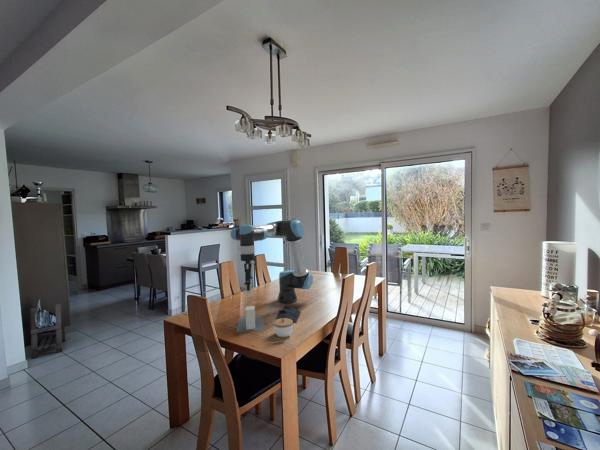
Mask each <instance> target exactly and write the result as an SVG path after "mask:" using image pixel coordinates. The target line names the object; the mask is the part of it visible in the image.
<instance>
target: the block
mask: <svg viewBox="0 0 600 450" xmlns="http://www.w3.org/2000/svg"><path fill="white" fill-rule="evenodd" d="M255 307H256V306H255V305H246V306H245V318H246V330H255V317H256V312H255V309H256V308H255Z"/></svg>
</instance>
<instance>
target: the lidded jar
mask: <svg viewBox="0 0 600 450" xmlns="http://www.w3.org/2000/svg"><path fill="white" fill-rule="evenodd" d="M293 324H294V323H293V321H292V320H291V319H288V318H280V319H277V318H276V319H275V320H273V331H274V333H275V335H276V336H277V337H280V338H287V337H289V336H290V335H291V333H292V331H293V326H294V325H293Z"/></svg>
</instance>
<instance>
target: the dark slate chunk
mask: <svg viewBox="0 0 600 450" xmlns="http://www.w3.org/2000/svg"><path fill="white" fill-rule="evenodd" d="M301 311H302V310H300V309H297V308H296V307H294V306H291V305H288V304H285V306H284V308H283V309H280V310H278V311H277V315H276V320H277V319H280V318H288V319H291V320H292V321H293V324H294V323H297V322H298V320H299V318H300V316H301V313H302V312H301Z"/></svg>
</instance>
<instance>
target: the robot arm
mask: <svg viewBox="0 0 600 450" xmlns="http://www.w3.org/2000/svg"><path fill="white" fill-rule="evenodd" d="M304 234H305V227H304V225H303V223H302V222H301V221H300V220H295V219H293V220H276V221H273V222H268V223H267V224H262V225H255V226H254V225H253V224H242V225H239V227H235V228H234V227H233V228H232V229H231V231H230V238H231V239H232V240H233V241H239V246H240V247H238V249H239V251H240V253H241V254H240V261H241V262H245V263H244V264H243V269H244V275H245V276H244V278H245V279H244V280H245V282H244V283H243V285H244V286H245V297H247V298H249V297H252V289H253V287H252V279H253V277H252V264H253V263H251V262H252V261H254V260H255V258H256V257H255V242H259V241H263V240H266V239H267V237H282V238H284V237H285V241H286V242H287V243H288V245H289V250H290V255H291V258H292V260H291V261H292V265H293V269H287V270H282V271H280V272H279V275H278V280H279V281H278V282H279V292H278V296H277V302H278V303H281V304H292V303H296V302H298V296H297V293H296V290H295V289H301V290H310V289H311V287H312V286H313V285H312V284H313V281H314V277H313V274H312V273H310V272H309V270H308V269H307V267H306V261H305V256H304V253H303V251H304V250H303V246H302V241H301V240H302V239H303V237H304Z"/></svg>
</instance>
